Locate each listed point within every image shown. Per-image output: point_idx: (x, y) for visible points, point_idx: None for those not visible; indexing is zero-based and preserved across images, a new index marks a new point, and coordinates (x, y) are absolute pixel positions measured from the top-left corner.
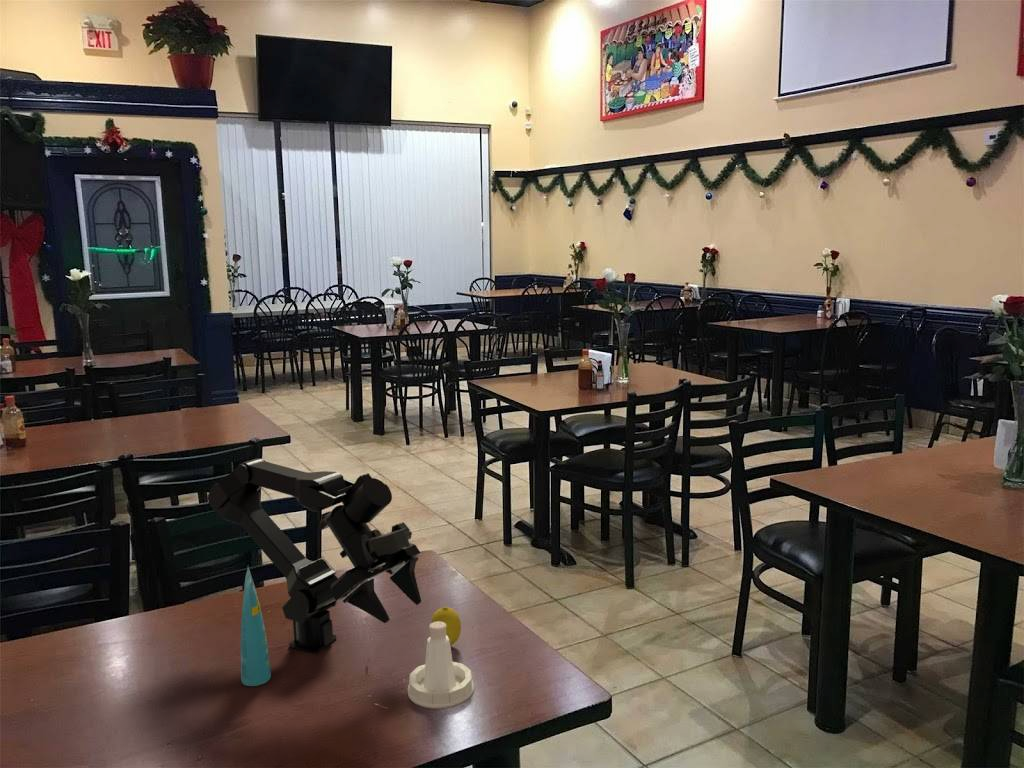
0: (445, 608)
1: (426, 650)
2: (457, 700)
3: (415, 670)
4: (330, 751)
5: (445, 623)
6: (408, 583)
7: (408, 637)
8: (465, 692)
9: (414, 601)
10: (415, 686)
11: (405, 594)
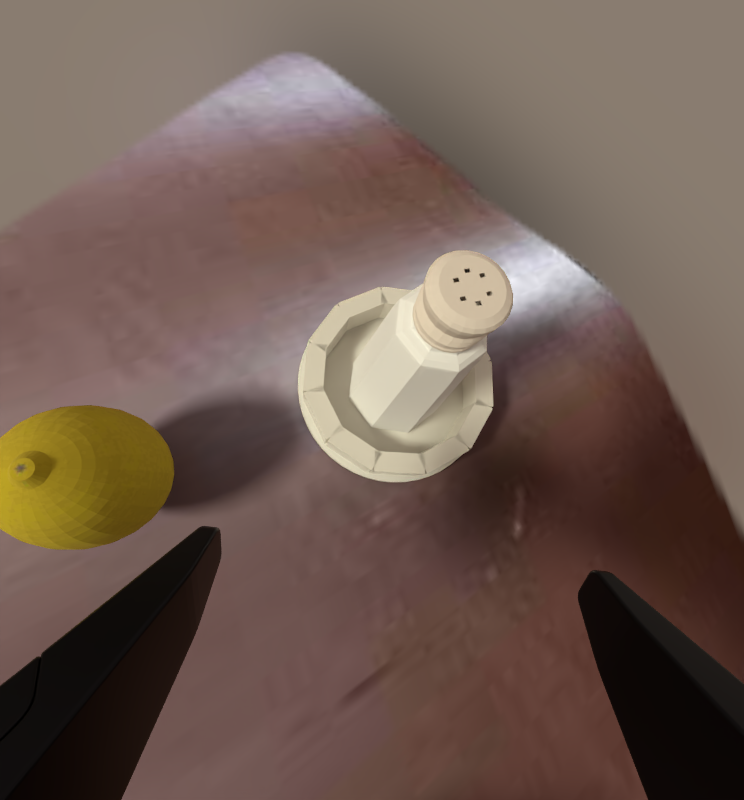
0: (37, 462)
1: (443, 391)
2: None
3: (397, 467)
4: (713, 524)
5: (133, 444)
6: (92, 746)
7: None
8: None
9: (211, 582)
10: (478, 423)
11: (159, 712)
